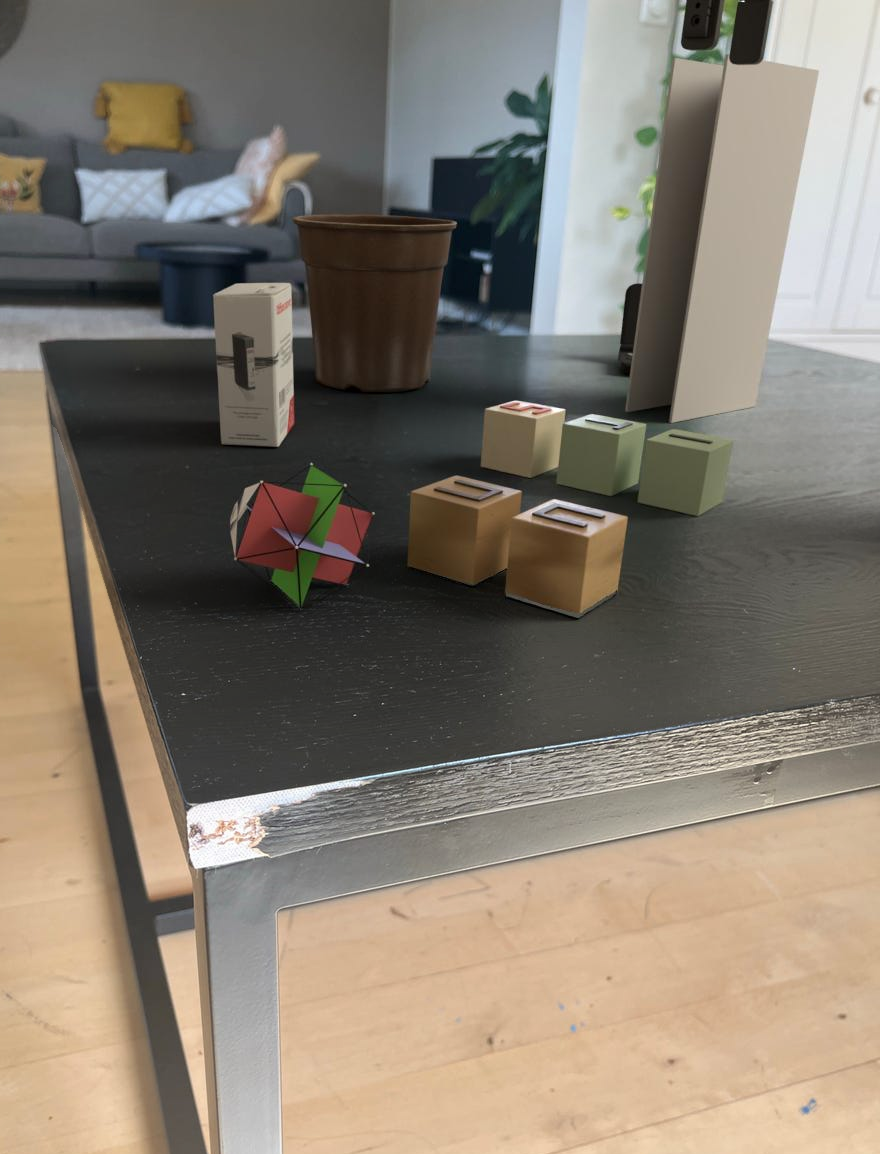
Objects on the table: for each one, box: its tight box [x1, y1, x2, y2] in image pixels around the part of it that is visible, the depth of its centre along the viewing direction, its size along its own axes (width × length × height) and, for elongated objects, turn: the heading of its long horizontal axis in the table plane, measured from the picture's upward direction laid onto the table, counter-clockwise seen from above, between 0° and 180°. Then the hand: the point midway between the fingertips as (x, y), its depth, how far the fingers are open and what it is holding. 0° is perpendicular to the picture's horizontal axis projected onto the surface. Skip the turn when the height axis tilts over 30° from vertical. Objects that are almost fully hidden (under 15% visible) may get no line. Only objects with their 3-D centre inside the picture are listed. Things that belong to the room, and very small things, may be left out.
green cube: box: [555, 413, 647, 497], centre depth 72 cm, size 4×4×5 cm
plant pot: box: [292, 214, 458, 394], centre depth 102 cm, size 16×16×16 cm
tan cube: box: [407, 475, 523, 584], centre depth 56 cm, size 4×4×5 cm
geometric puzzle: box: [229, 462, 376, 609], centre depth 51 cm, size 7×7×8 cm
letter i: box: [637, 428, 734, 517], centre depth 69 cm, size 4×4×5 cm
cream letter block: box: [480, 399, 566, 479], centre depth 76 cm, size 4×4×5 cm
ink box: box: [212, 282, 295, 448], centre depth 80 cm, size 8×5×12 cm, turn 177°
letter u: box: [504, 498, 629, 613], centre depth 52 cm, size 4×4×5 cm
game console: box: [617, 283, 642, 375], centre depth 117 cm, size 16×14×9 cm
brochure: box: [624, 53, 820, 424], centre depth 92 cm, size 14×6×30 cm, turn 130°
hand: (722, 57), depth 65 cm, fingers open, 8 cm apart
